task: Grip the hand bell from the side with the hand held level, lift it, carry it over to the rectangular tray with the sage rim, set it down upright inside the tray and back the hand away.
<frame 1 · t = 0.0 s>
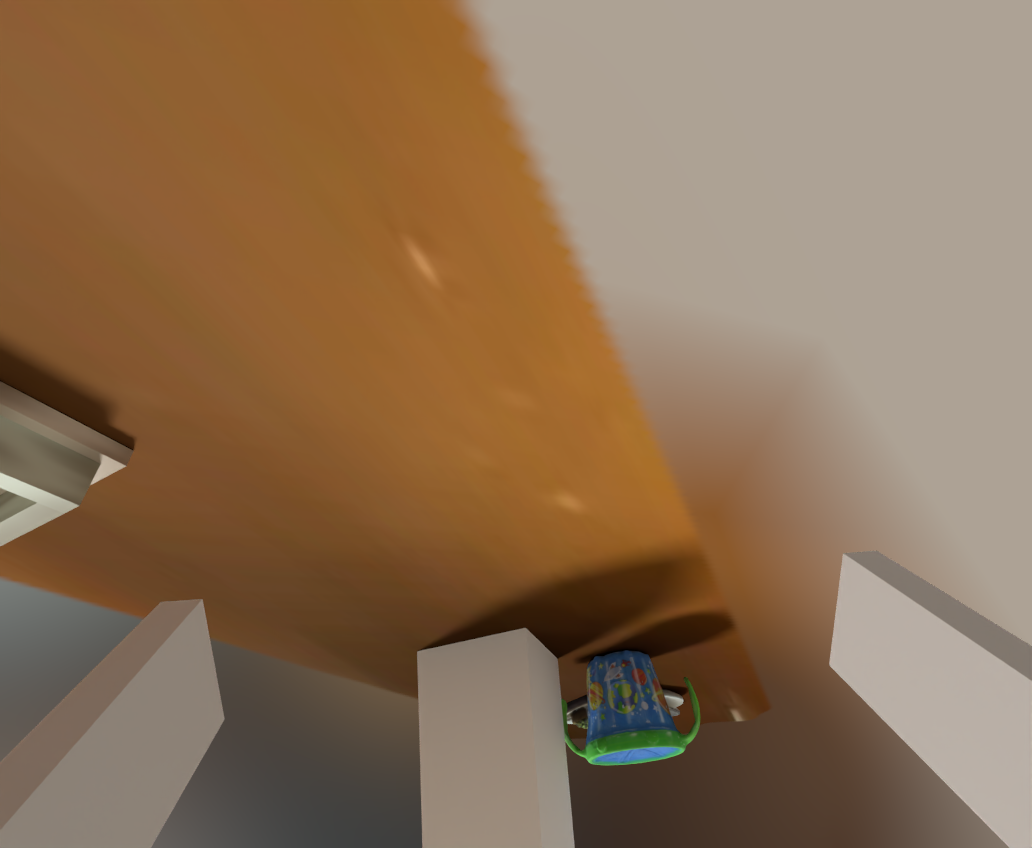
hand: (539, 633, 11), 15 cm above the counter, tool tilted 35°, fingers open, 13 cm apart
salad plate: (617, 696, 81), on the counter
snack cup: (616, 656, 64), on the counter
milk: (490, 653, 59), on the counter
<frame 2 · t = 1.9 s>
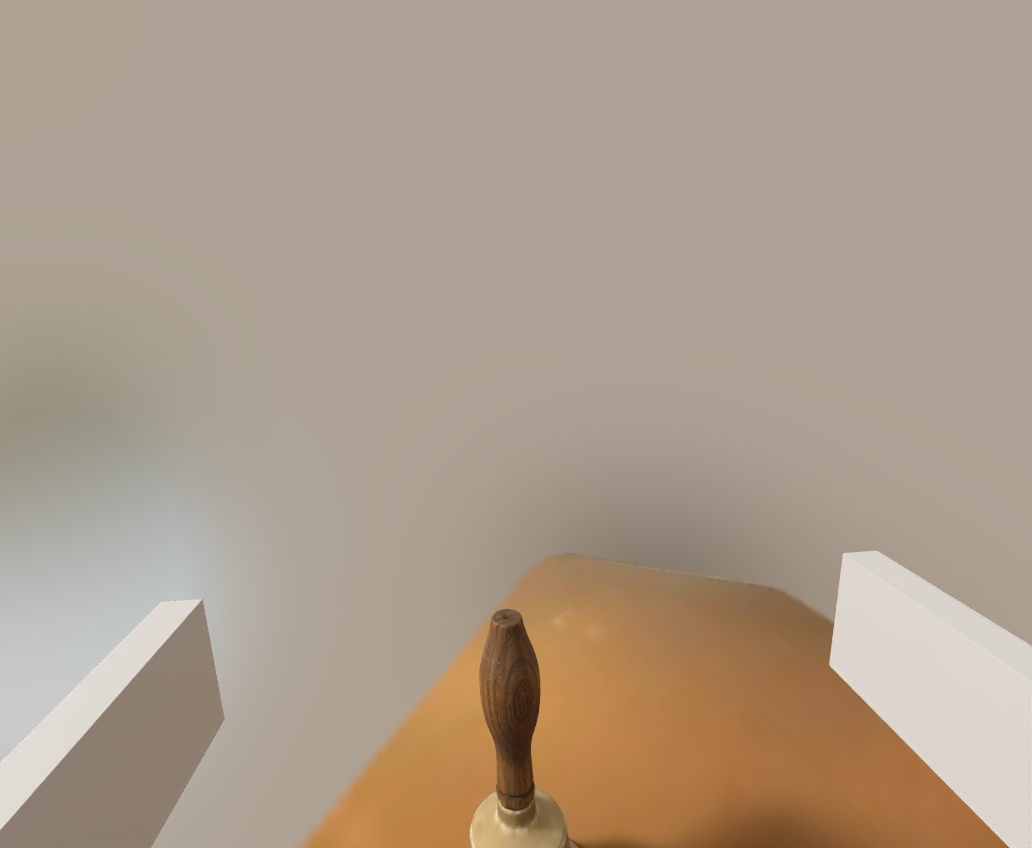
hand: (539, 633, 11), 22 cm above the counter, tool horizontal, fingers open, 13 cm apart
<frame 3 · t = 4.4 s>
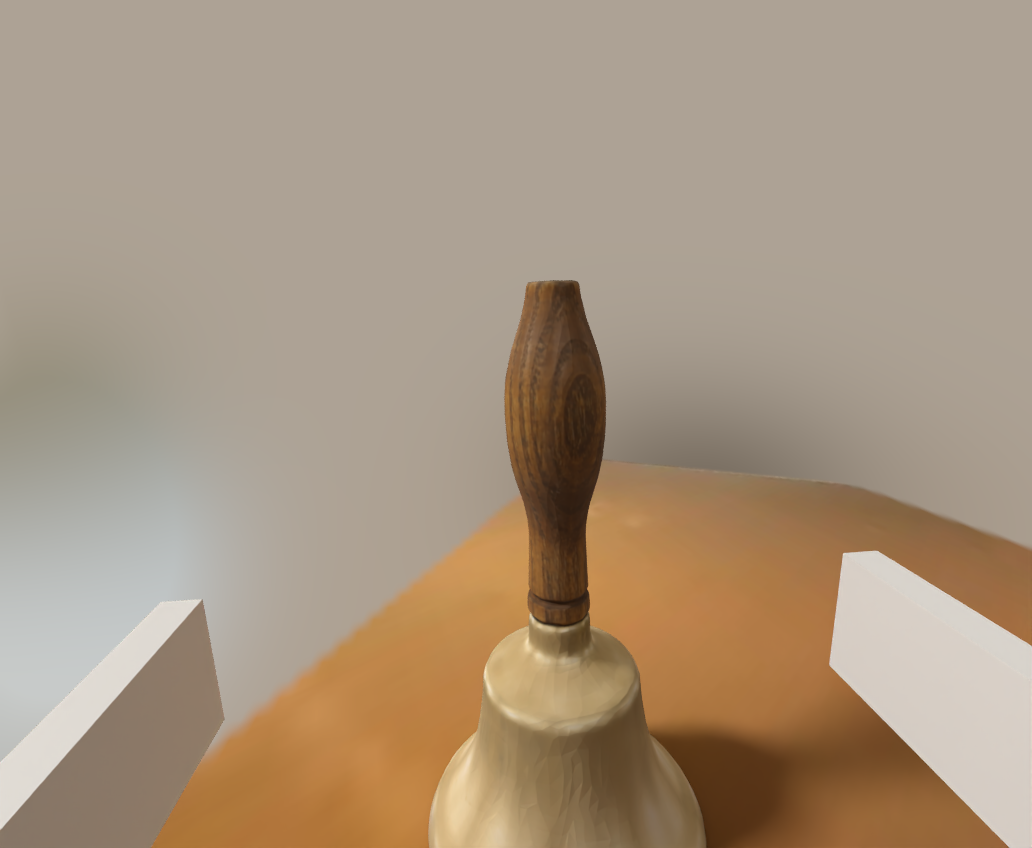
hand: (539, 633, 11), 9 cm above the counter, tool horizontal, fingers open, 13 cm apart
hand bell: (564, 819, 17), on the counter
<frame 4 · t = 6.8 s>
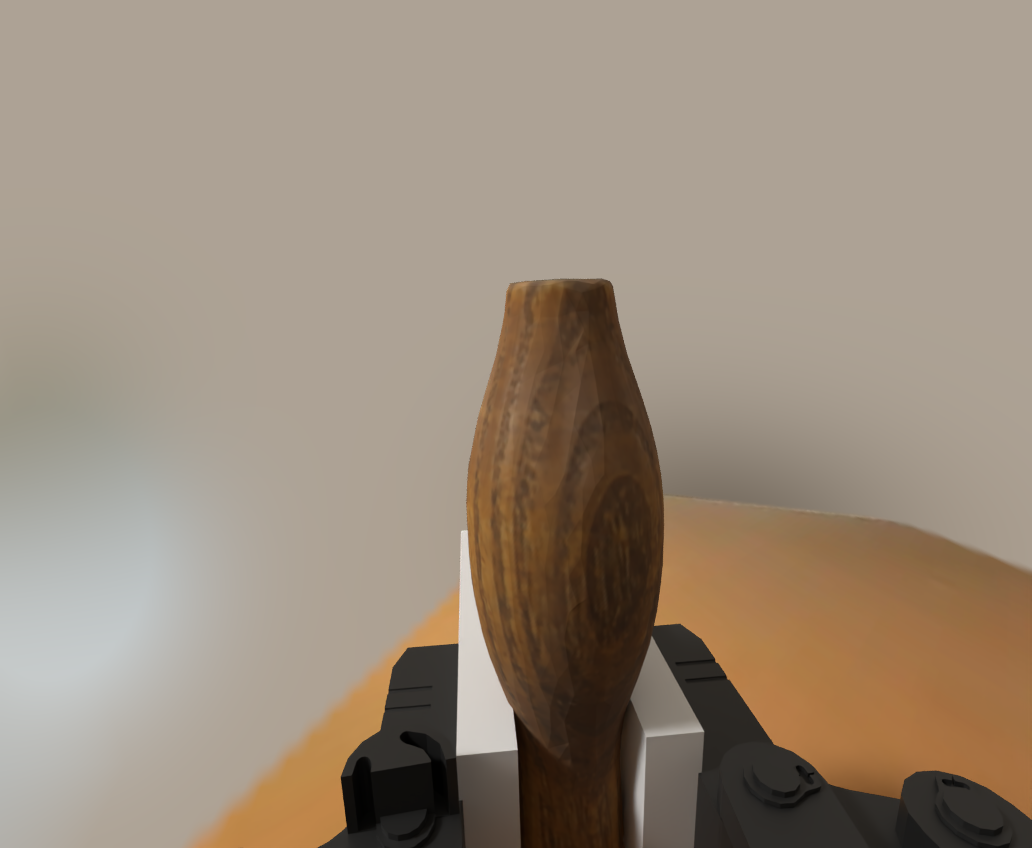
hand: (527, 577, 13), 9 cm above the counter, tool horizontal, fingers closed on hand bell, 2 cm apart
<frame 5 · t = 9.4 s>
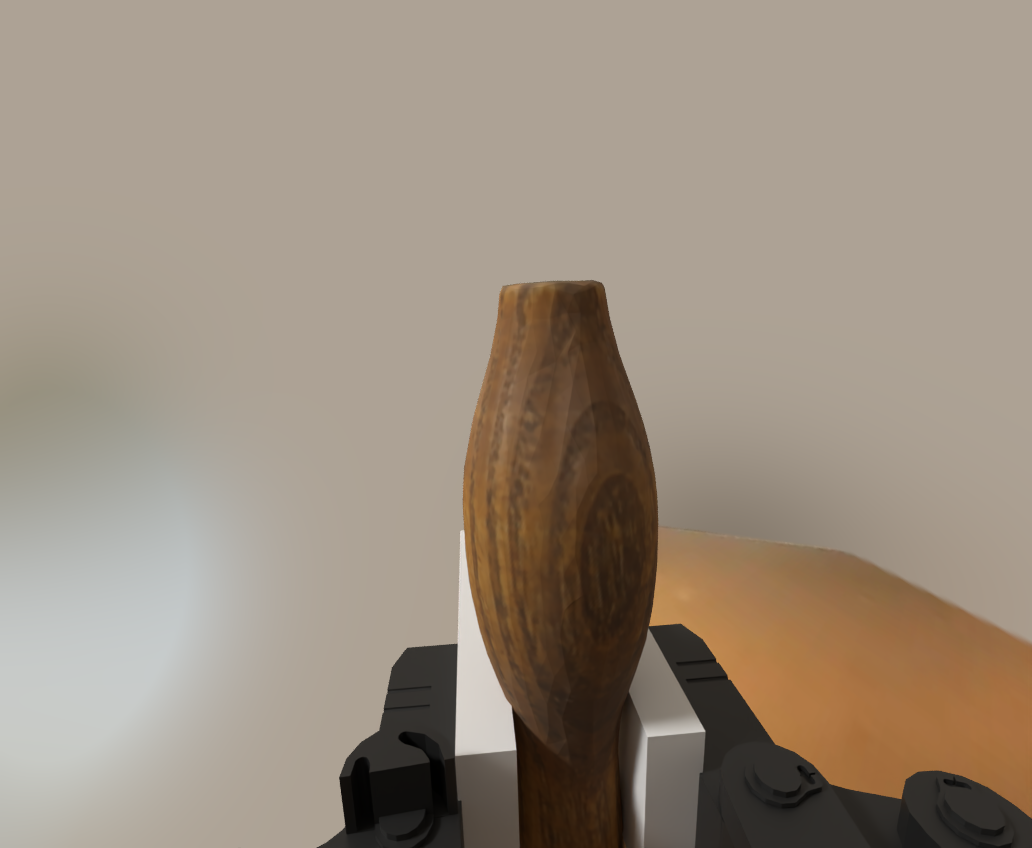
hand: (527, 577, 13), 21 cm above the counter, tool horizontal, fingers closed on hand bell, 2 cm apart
when the fingers open (11 cm above the counter, at t = 12.3 s): hand bell drops 1 cm, resting on rectangular tray.
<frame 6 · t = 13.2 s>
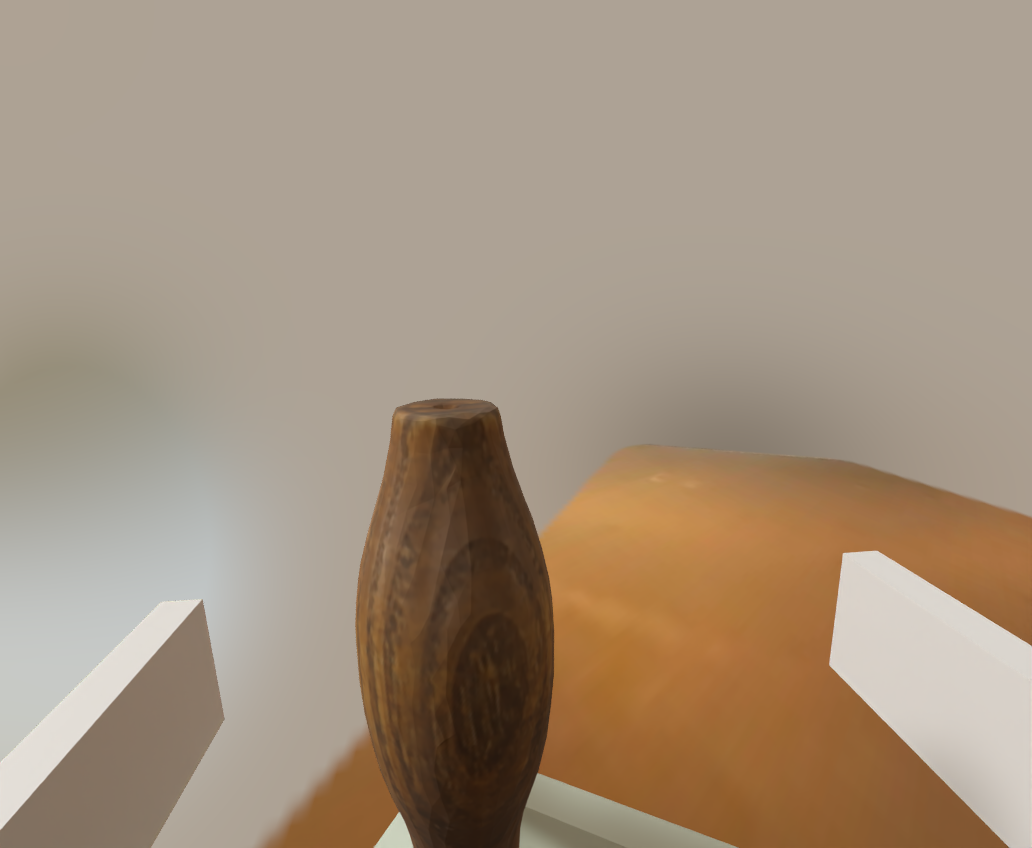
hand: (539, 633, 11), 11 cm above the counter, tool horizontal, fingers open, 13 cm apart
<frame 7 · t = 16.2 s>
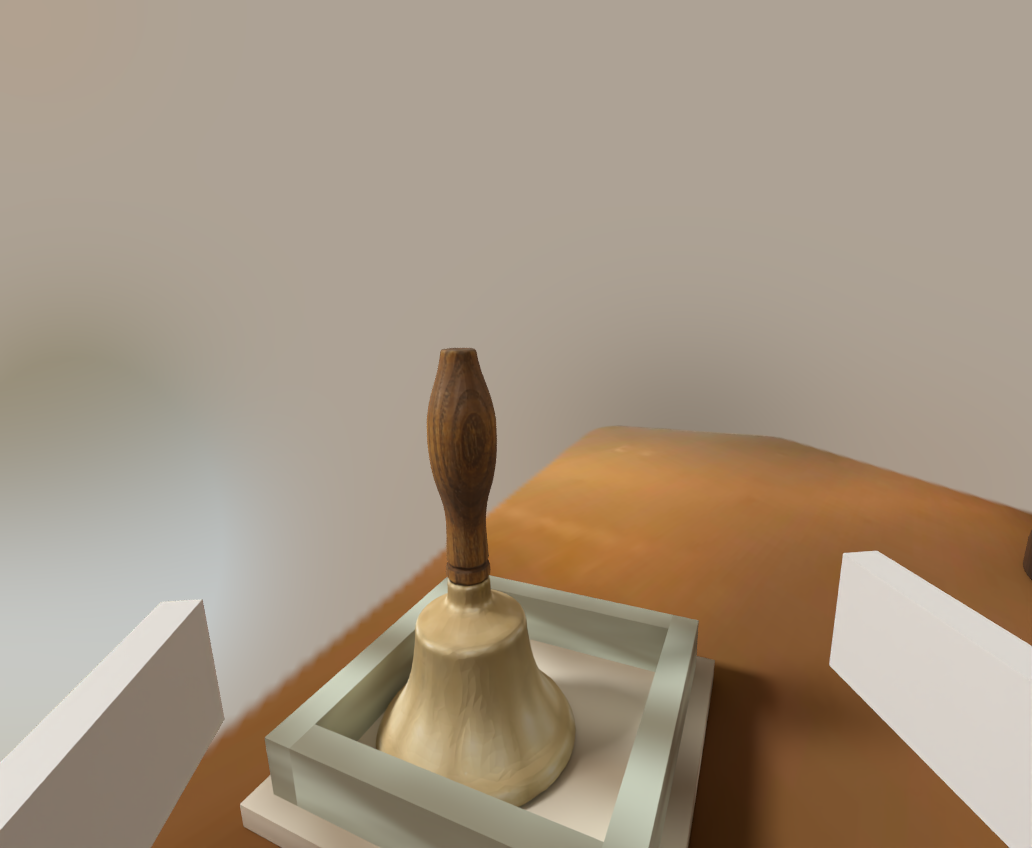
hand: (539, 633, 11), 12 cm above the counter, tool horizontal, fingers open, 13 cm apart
rectangular tray: (514, 740, 23), on the counter
hand bell: (476, 732, 23), point 1 cm above the counter, touching rectangular tray
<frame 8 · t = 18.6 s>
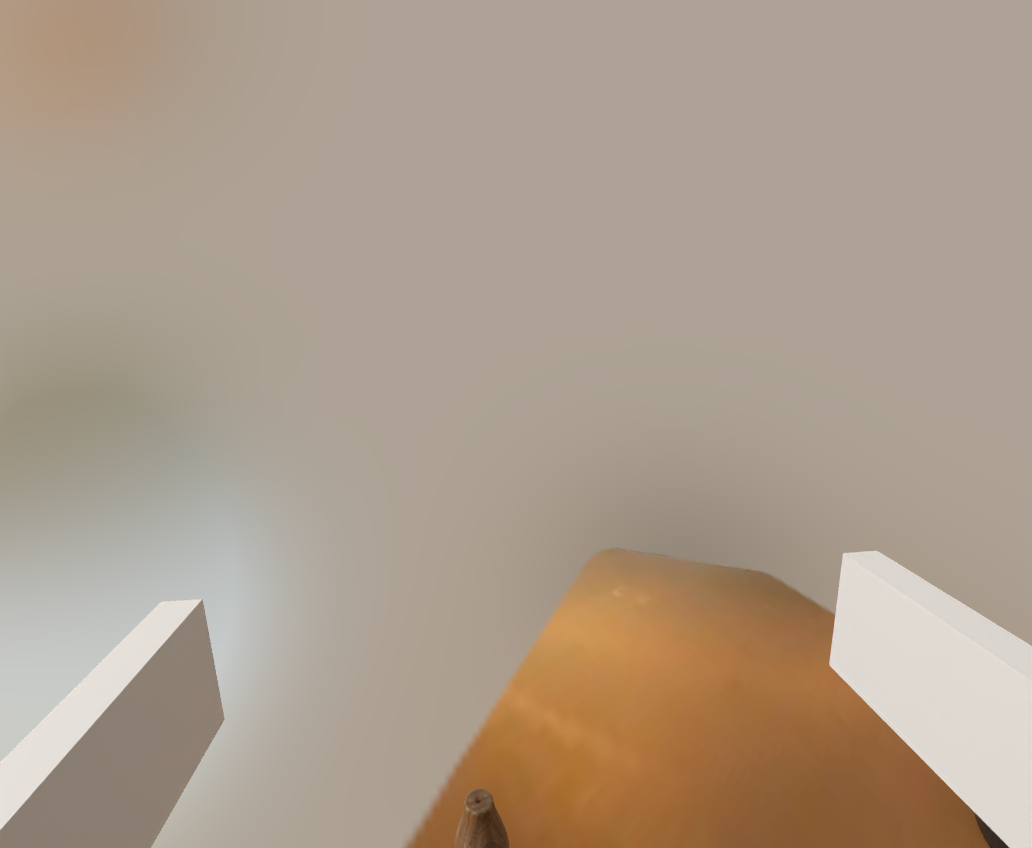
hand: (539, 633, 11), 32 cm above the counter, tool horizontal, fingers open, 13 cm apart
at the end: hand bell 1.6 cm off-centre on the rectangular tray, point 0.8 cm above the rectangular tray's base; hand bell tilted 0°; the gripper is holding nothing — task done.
